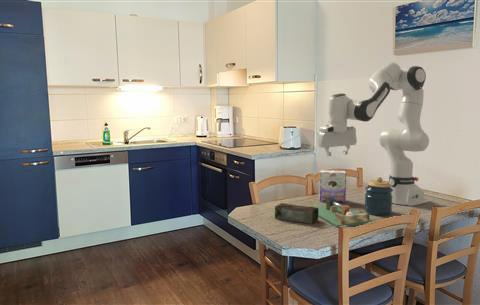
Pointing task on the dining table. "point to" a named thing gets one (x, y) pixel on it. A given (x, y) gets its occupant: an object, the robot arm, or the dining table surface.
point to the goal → (352, 218)
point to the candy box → (332, 185)
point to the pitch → (329, 215)
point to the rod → (337, 205)
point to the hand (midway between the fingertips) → (337, 155)
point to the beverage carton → (296, 213)
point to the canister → (378, 197)
